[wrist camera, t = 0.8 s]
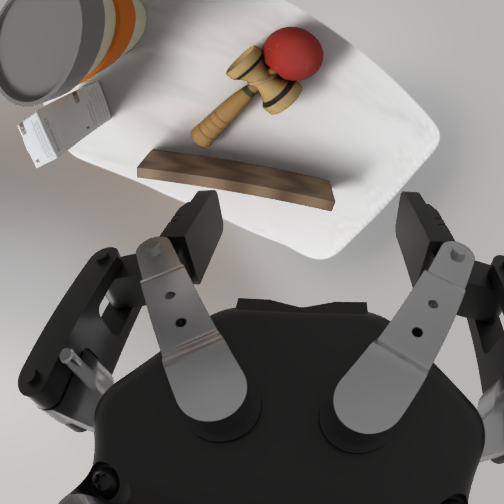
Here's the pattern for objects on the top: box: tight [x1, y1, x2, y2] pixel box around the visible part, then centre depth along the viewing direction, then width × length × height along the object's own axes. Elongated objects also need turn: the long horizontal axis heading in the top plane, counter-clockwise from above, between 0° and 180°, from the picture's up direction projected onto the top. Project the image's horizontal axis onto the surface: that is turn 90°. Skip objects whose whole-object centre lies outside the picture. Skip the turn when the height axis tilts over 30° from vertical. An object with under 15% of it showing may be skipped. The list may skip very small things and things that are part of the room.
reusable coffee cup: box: [0, 0, 147, 106], centre depth 17 cm, size 12×13×15 cm
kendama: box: [191, 27, 323, 147], centre depth 27 cm, size 8×6×18 cm
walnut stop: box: [137, 150, 335, 211], centre depth 35 cm, size 24×1×5 cm, turn 80°
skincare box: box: [18, 81, 111, 168], centre depth 26 cm, size 6×4×12 cm
